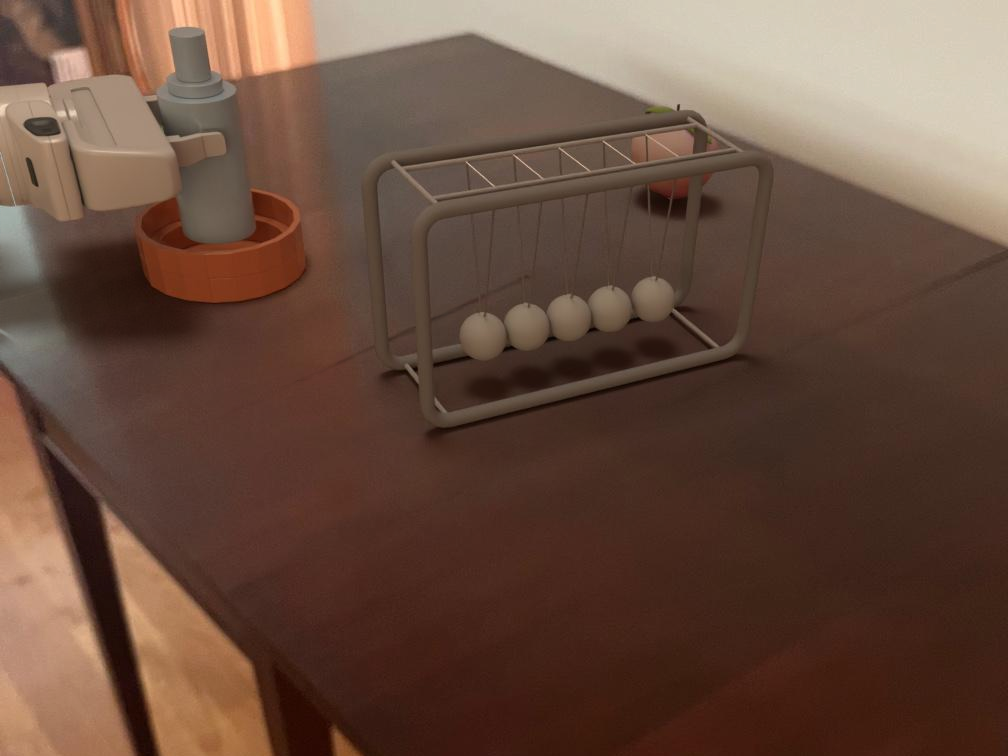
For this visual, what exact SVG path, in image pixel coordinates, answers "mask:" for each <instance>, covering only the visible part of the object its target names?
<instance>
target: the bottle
mask: <svg viewBox="0 0 1008 756" xmlns="http://www.w3.org/2000/svg"><path fill="white" fill-rule="evenodd" d="M168 39H169V44H170V50H171V55H172V61H173V66H174V72H172V73H170V74H168V75H167V76H166V77H165V78H166V82H165V83H163V84H161V85H160V86H158V87H157V88H156V90H155V95H156V96H157V101H158V106H159V111H160V117H161V122H162V127H163V132H164V134H165V136H174V135H179V136H180V137H185V136H189V135H193V134H197V133H199V132H198V130H200V129H211V128H217V129H219V130H220V132H221V133H222V135H223V136H224V138H225V144H226V150H227V151H226V153H225V154H224V155H223V156H215V157H207V158H205V159H203V160H201V161H199V162H196V163H194V164H192V165H190V166H188V167H181V168H179V172H180V178H181V184H182V192H181V193H180V194H178V195H177V196H176V201H177V206H178V211H179V216H180V222H181V227H182V232H183V234H184V235H185V236H186V237H187V238H188V239H190V240H192V241H195V242H199V243H205V244H226V243H232V242H237V241H240V240H243V239H245V238H247V237H249V236H251V235H252V234H253V233H254V232H255V231H256V220H255V213H254V206H253V199H252V192H251V189H252V186H251V180H250V173H249V165H248V160H247V159H248V158H247V153H246V152H247V151H246V145H245V139H244V138H245V137H244V132H243V131H244V130H243V125H242V117H241V111H240V103H239V98H238V91H237V87H236V86H235V84H233V83H231V82H230V81H226V80H224V79H223V76H222V75H221V73H220V72H217V71H214V70H212V69H211V62H210V56H209V50H208V44H207V43H208V42H207V37H206V32H205V30H204V29H203V28H200V27H196V26H181V27H180V26H179V27H175V28H171V29H170V30H168Z"/></svg>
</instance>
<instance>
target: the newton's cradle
mask: <svg viewBox="0 0 1008 756" xmlns="http://www.w3.org/2000/svg"><path fill="white" fill-rule="evenodd" d="M707 126H708V125H707V122H706V120H705V118H704V117H703V116H702V115H701V113H699V112H698V111H695V110H693V109H680V110H679V111H677V110H675V111H673V112H666V113H659V114H657V113H653V114H652V113H651V114H645V115H638V116H630V117H625V118H618V119H611V120H605V121H597V122H590V123H589V122H588V123H583V124H575V125H569V126H562V127H561V126H560V127H554V128H548V129H540V130H534V131H527V132H521V133H512V134H505V135H499V136H492V137H485V138H479V139H471V140H464V141H457V142H449V143H443V144H438V145H429V146H423V147H422V146H421V147H417V148H409V149H402V150H395V151H389V152H386V153H383V154H379V155H378V156H377V157H375V158H374V159H372V160H371V162H369V164H367V165H368V166H366V168H365V170H364V172H363V175H362V178H361V197H362V210H363V222H364V235H365V246H366V247H365V248H366V257H367V268H368V269H367V272H368V282H369V294H370V306H371V316H372V317H371V318H372V328H373V330H372V331H373V342H374V350H375V353H376V357H377V358H378V360H379V362H380V363H381V364H382V365H383V366H385V367H386V368H388V369H391V370H394V371H405V370H406V371H407V372H408V373H409V375H410V376H411V377H412V379H413V380H414V381H415V382H416V384H417V385H418V395H419V397H418V398H419V407H420V411H421V415H422V416H423V418H424V419H425V421H426V422H428V423H429V424H431V425H432V426H434V427H436V428H437V427H438V428H441V429H442V428H443V429H445V428H453V427H458V426H462V425H467V424H470V423H473V422H477V421H478V422H479V421H482V420H485V419H489V418H494V417H497V416H502V415H506V414H511V413H514V412H517V411H523V410H527V409H530V408H534V407H537V406H543V405H546V404H550V403H555V402H558V401H562V400H566V399H571V398H575V397H578V396H583V395H586V394H590V393H594V392H598V391H602V390H607V389H610V388H614V387H619V386H623V385H627V384H630V383H634V382H639V381H643V380H647V379H651V378H655V377H660V376H662V375H668V374H672V373H675V372H680V371H684V370H687V369H692V368H696V367H699V366H704V365H708V364H712V363H717V362H719V361H723V360H728V359H729V358H732V357H733V356H735V355H736V354H737V353H739V352H740V350H741V349H742V348H743V347H744V346H745V345H746V343H747V341H748V339H749V336H750V332H751V327H752V320H753V314H754V309H755V308H754V307H755V299H756V294H757V288H758V281H759V274H760V268H761V261H762V257H763V255H762V254H763V249H764V242H765V236H766V229H767V223H768V217H769V209H770V203H771V197H772V190H773V183H774V166H773V163H772V161H771V159H770V158H769V156H767V154H766V153H764V152H762V151H759V150H743V149H742V148H740V147H738V146H737V145H736V144H733V143H732V142H730V141H729V140H727V139H726V138H724V137H722V136H721V135H719V134H718V133H716V132H714V131H713V130H712V129H711V128H710V129H711V130H710V129H708V128H707ZM687 129H694V144H693V154H691V155H685V156H678V155H676V154H675V153H673V152H672V151H670V150H669V149H667V148H666V147H664V146H663V145H661V144H660V143H658V142H657V141H655V140H654V139H652V138H651V137H649V136H648V135H654V134H660V133H667V132H673V131H680V130H687ZM708 135H709V136H711V137H712V138H714V139H715V140H717V142H719V143H720V144H722V146H724V147H727V148H723V149H719V150H716V151H710V152H706V149H707V140H708ZM640 136H645V139H646V162H642V163H636V164H635V163H634V162H633V161H632V159H630V158H629V157H627V156H626V155H624V154H622V152H620V151H619V150H617V149H616V148H614V147H613V146H612V145H610V144H609V143H608V142H614V141H619V140H627V139H633V138H634V137H640ZM647 137H649V138H650V139H652V140H653V141H655V142H656V143H657V144H659V145H660V146H662V147H663V148H665V149H666V150H668V151H669V152H671V153H672V154H674V155H675V156H677V157H673V158H666V159H660V160H654V161H648V139H647ZM600 143H602V161H603V163H602V164H603V168H599V169H593V170H590V169H589V168H587V167H586V166H585V165H584V164H582V162H581V163H580V162H579V161H578V160H577V159H576V158H574V157H572V156H571V155H570V154H568V152H566V151H565V150H564V149H567V148H573V147H581V146H587V145H592V144H593V145H594V144H600ZM606 145H607V146H608V147H609V148H610V149H612V150H614V151H615V152H616V153H617V154H619V155H621V156H622V157H623V158H625V159H626V160H627V161H628V162H630V164H624V165H618V166H612V167H611V166H610V167H606ZM554 150H558V163H559V175H555V176H550V177H543V176H542V175H540V174H539V173H538V172H537V171H535V170H534V169H533V168H532V167H530V165H527V164H526V163H525V162H524V161H523V160H522V159H520V158H519V157H518V156H521V155H528V154H534V153H540V152H548V151H554ZM562 152H563V153H564V154H565V155H566V156H568V157H569V158H570V159H571V160H573V161H574V162H575V163H577V164H578V165H579V166H581V167H582V168H584V169H585V170H586V171H581V172H575V173H569V174H568V173H567V174H563V167H562ZM713 156H714V157H713ZM508 157H512V162H513V176H514V177H513V178H514V182H512V183H507V184H501V185H495V184H493V183H492V182H491V181H490V180H489V179H487V178H486V177H485V176H484V175H483V174H482V173H481V172H479V171H478V170H477V169H476V168H475V167H474V166H473V165H471V164H470V163H474V162H481V161H488V160H494V159H501V158H508ZM707 157H708V158H707ZM516 159H517V160H518V161H519V162H520V163H521V164H523V165H524V166H525V167H526V168H528V169H529V170H530V171H532V172H533V173H534V174H535V175H537V177H539V178H537V179H531V180H524V181H519V182H518V180H517V179H518V177H517V176H518V175H517V165H516V164H517V163H516ZM676 162H677V163H676ZM670 163H671V164H670ZM461 164H465V171H466V179H467V190H463V191H457V192H450V193H445V194H439V195H431V194H430V193H429V192H428V191H427V189H425V188H424V187H423V186H422V185H421V184H420V183H419V182H418V181H417V180H416V179H415V178H414V177H413V176H411V174H409V172H416V171H422V170H429V169H435V168H441V167H450V166H455V165H461ZM664 164H665V165H664ZM658 165H659V166H658ZM652 166H653V167H652ZM469 167H470V168H471V169H472V170H473V171H475V172H476V173H477V174H478V175H479V176H480V177H481V178H483V179H484V180H485V182H487V183H489V185H490V186H488V187H483V188H475V189H471V181H470V170H469ZM646 167H647V168H646ZM749 167H755V168H756V169H757V171H758V180H757V181H758V182H757V189H756V196H755V201H754V209H753V216H752V221H751V222H752V223H751V230H750V236H749V243H748V250H747V257H746V262H745V263H746V264H745V270H744V277H743V285H742V292H741V298H740V305H739V311H738V312H739V313H738V319H737V325H736V331H735V334H734V335H733V337H732V339H731V340H730V341H729V342H727V343H726V344H724V345H722V346H720V345H718V343H716V342H715V341H714V340H713V339H711V338H710V337H709V336H708V335H707V334H705V333H704V332H703V331H702V330H701V329H700V328H698V327H697V326H696V325H695V324H693V323H692V322H691V321H690V320H689V319H687V318H686V317H685V316H684V315H682V313H680V312H679V311H678V310H676V308H677V307H679V306H680V305H681V304H682V303H684V301H685V300H686V298H687V297H688V295H689V294H690V290H691V286H692V281H693V271H694V263H695V255H696V254H695V253H696V245H697V236H698V227H699V219H700V210H701V201H702V193H703V192H702V191H703V187H702V184H703V176H704V174H708V173H713V174H714V173H720V172H724V171H731V170H732V171H733V170H736V169H743V168H749ZM640 168H641V169H640ZM393 169H395V170H396V171H397V172H398V173H399V174H400V175H401V176H402V177H403V178H404V179H405V180H406V181H407V182H408V183H409V184H410V185H412V187H413V188H414V189H416V190H417V191H418V192H419V193H420V194H421V196H423V197H424V198H425V199H426V200H427V201H428V202H429V203H430V205H428V206H427V207H425V208H424V209H422V210H421V211H420V213H419V214H418V215H417V216H416V218H415V219H414V221H413V224H412V226H411V229H410V239H409V241H410V254H411V256H410V257H411V273H412V275H411V276H412V290H413V291H412V294H413V308H414V309H413V310H414V326H415V327H414V328H415V343H416V344H415V345H416V352H415V353H411V354H406V355H395V354H394V353H392V352H391V350H390V349H391V348H390V342H389V329H388V315H387V314H388V313H387V301H386V289H385V288H386V287H385V275H384V263H383V249H382V248H383V247H382V235H381V234H382V233H381V222H380V210H379V209H380V207H379V194H378V193H379V192H378V183H379V180H380V178H381V176H383V174H384V173H385V172H387V171H390V170H393ZM685 177H690V182H689V191H688V196H687V200H686V201H687V202H686V212H685V223H684V232H683V239H682V248H681V258H680V260H681V261H680V268H679V278H678V284H677V287H676V289H675V291H674V289H673V287H672V285H671V284H670V283H669V282H668V281H667V280H666V279H664V278H662V277H659V274H660V269H661V264H662V257H663V252H664V247H665V242H666V237H667V232H668V227H669V220H670V216H671V210H672V205H673V201H674V200H673V195H674V189H675V184H676V179H679V178H685ZM673 179H674V184H673V189H672V195H671V200H669V205H668V211H667V216H666V222H665V227H664V233H663V237H662V242H661V247H660V248H661V249H660V254H659V258H658V265H657V269H656V275H654V268H653V267H654V266H653V241H652V217H651V216H652V215H651V192H650V191H651V189H649V184H650V183H656V182H661V181H667V180H673ZM644 184H647V186H646V188H647V207H648V208H647V211H648V229H649V230H648V234H649V258H650V259H649V261H650V276H649V277H645V278H643V279H641V280H639V281H638V282H637V283H636V284H635V286H634V287H633V289H632V292H631V295H630V297H629V295H628V294H627V293H626V291H624V290H622V289H621V288H619V287H618V286H616V280H617V275H618V269H619V264H620V259H621V253H622V247H623V243H624V237H625V231H626V227H627V226H626V225H627V220H628V215H629V211H630V210H629V209H630V205H631V199H632V193H633V189H634V187H638V186H642V185H644ZM644 186H645V185H644ZM626 188H629V194H628V198H627V199H628V200H627V205H626V209H625V216H624V221H623V226H622V231H621V238H620V243H619V249H618V255H617V258H616V259H617V260H616V265H615V271H614V275H613V281H612V284H611V285H610V283H611V281H610V257H609V254H610V253H609V228H608V225H609V224H608V199H607V197H608V196H607V195H608V194H607V192H608V191H613V190H614V191H615V190H620V189H626ZM603 192H604V193H603ZM596 193H603V194H604V219H605V220H604V222H605V246H606V247H605V248H606V273H607V275H606V276H607V278H606V279H607V285H606V286H601V287H599V288H598V289H596V290H594V292H593V293H591V295H590V297H589V299H588V301H587V302H586V301H585V300H584V299H582V298H581V297H580V296H579V295H578V296H577V295H576V294H575V295H574V292H575V291H574V290H575V285H576V279H577V278H576V277H577V271H578V265H579V258H580V251H581V246H582V238H583V232H584V226H585V221H586V220H585V218H586V213H587V205H588V199H589V195H591V194H596ZM583 195H584V196H585V200H584V207H583V212H582V218H581V219H582V220H581V227H580V232H579V233H580V234H579V240H578V247H577V252H576V259H575V267H574V273H573V280H572V285H571V293H569V281H568V277H569V276H568V264H567V263H568V261H567V260H568V259H567V241H566V240H567V239H566V224H565V223H566V222H565V206H564V205H565V204H564V199H567V198H572V197H579V196H583ZM555 200H561V202H560V203H561V217H562V218H561V219H562V238H563V239H562V240H563V256H564V273H565V274H564V275H565V277H564V278H565V290H566V291H565V293H566V294H562V295H559V296H558V297H556V298H554V299H553V300H552V301H551V302H550V303H549V305H548V307H547V310H546V312H545V311H544V310H543V309H542V308H541V307H539V306H538V305H536V304H534V303H531V301H532V293H533V286H534V285H533V284H534V274H535V267H536V259H537V251H538V243H539V234H540V224H541V216H542V207H543V203H545V202H551V201H555ZM538 203H539V207H538V216H537V226H536V233H535V242H534V251H533V258H532V259H533V260H532V268H531V275H530V277H531V279H530V286H529V293H528V302H527V299H526V288H525V286H526V285H525V274H524V260H523V246H522V233H521V231H522V230H521V219H520V218H521V217H520V207H522V206H526V205H532V204H538ZM514 207H515V208H516V215H517V216H516V217H517V231H518V244H519V257H520V270H521V284H522V285H521V286H522V297H523V303H519V304H517V305H515V306H513V307H512V308H511V309H509V311H508V312H507V313H506V315H505V317H504V319H503V322H502V320H501V319H500V318H498V317H497V316H496V315H495V314H492V313H489V312H487V307H488V306H487V305H488V295H489V293H488V292H489V282H490V269H491V258H492V247H493V234H494V222H495V211H497V210H503V209H510V208H514ZM485 212H491V223H490V224H491V225H490V236H489V247H488V248H489V249H488V259H487V273H486V283H485V285H486V286H485V297H484V308H483V310H482V297H481V290H480V289H481V288H480V277H479V276H480V275H479V267H478V257H477V256H478V255H477V246H476V235H475V234H476V233H475V223H474V214H480V213H485ZM469 215H470V222H471V231H472V232H471V233H472V243H473V244H472V245H473V254H474V264H475V266H474V267H475V274H476V285H477V286H476V287H477V296H478V307H479V312H475V313H473V314H471V315H469V316H468V317H467V318H466V319H465V320H464V321H463V323H462V325H461V326H460V329H459V336H458V337H459V343H456V344H452V345H447V346H442V347H437V348H433V335H432V334H433V333H432V314H431V312H432V311H431V296H430V295H431V293H430V274H429V273H430V271H429V270H430V269H429V253H428V249H429V248H428V235H429V232H430V230H431V228H432V227H433V226H434V225H435V224H436V223H437V222H439V221H441V220H444V219H451V218H455V217H462V216H469ZM674 308H675V309H674ZM671 313H672V314H673V315H674V316H675V317H676V318H678V319H679V320H680V321H681V322H682V323H684V324H685V325H686V326H687V327H688V328H690V329H691V330H692V331H693V332H694V333H695V334H697V335H698V336H699V337H700V338H701V339H703V340H704V341H705V342H706V343H707V344H709V345H710V346H711V347H712V348H709V349H704V350H701V351H696V352H692V353H688V354H684V355H681V356H677V357H672V358H668V359H664V360H659V361H655V362H651V363H648V364H642V365H638V366H635V367H631V368H626V369H623V370H618V371H614V372H610V373H606V374H602V375H597V376H594V377H589V378H586V379H582V380H577V381H572V382H567V383H565V384H561V385H557V386H552V387H549V388H548V387H547V388H543V389H539V390H536V391H532V392H528V393H523V394H519V395H515V396H510V397H506V398H503V399H499V400H494V401H491V402H486V403H482V404H478V405H474V406H470V407H466V408H465V407H464V408H461V409H458V410H457V409H456V410H453V411H449V412H448V411H447V409H445V408H444V406H443V405H442V404H441V403H440V401H439V400H438V399H437V398H436V395H435V379H434V376H435V375H434V364H437V363H441V362H447V361H452V360H455V359H460V358H463V357H470V358H472V359H474V360H476V361H480V362H481V361H482V362H484V361H491V360H493V359H495V358H497V357H499V356H500V354H501V353H502V352H503V351H504V349H505V348H509V347H513V348H515V349H516V350H519V351H523V352H531V351H536V350H537V349H539V348H541V347H542V346H543V345H544V344H545V342H546V341H547V340H548V339H550V338H553V337H555V338H556V339H557V340H560V341H561V342H562V341H563V342H575V341H578V340H580V339H581V338H583V337H584V336H585V335H586V334H587V332H588V331H589V330H590V329H593V328H594V329H597V330H599V331H601V332H604V333H615V332H617V331H620V330H622V329H623V328H624V327H626V326H627V324H628V323H629V321H630V320H634V319H633V318H635V319H638V317H639V319H640V320H641V321H644V322H647V323H659V322H662V321H664V320H665V319H666V318H668V317H669V316H670V315H671ZM416 368H417V373H416V372H415V370H414V369H416Z"/></svg>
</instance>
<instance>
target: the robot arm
mask: <svg viewBox="0 0 1008 756" xmlns="http://www.w3.org/2000/svg"><path fill="white" fill-rule="evenodd" d="M160 125H162V122H161V117H160V111H159V106H158V101H157V96H156V94H151V95H143V94H142V92H141V90H140V89H139V87H138V84H137V83H136V81H135V79H134V78H133V77H132V76H130V75H124V74H105V75H98V76H97V75H96V76H91V77H83V78H77V79H69V80H64V81H60V82H55V83H53V84H50V85H49V86H48V85H47V84H46V83H45V82H36V83H25V84H23V83H22V84H12V85H1V86H0V206H2V207H19V206H28V205H31V206H32V207H33V208H37V209H39V210H42V211H44V212H45V213H47V214H48V215H49V216H51V217H52V218H53V219H54V220H57V221H59V222H65V223H67V222H75V221H80V220H83V219H84V218H86V211H85V208H86V209H87V210H89V211H93V212H112V211H119V210H125V209H131V208H138V207H143V206H148V205H150V204H154V203H159V202H163V201H166V200H169V199H171V198H173V197H175V196H177V195H178V194H180V193H181V192H182V184H181V178H180V172H179V168H181V167H188V166H190V165H192V164H194V163H196V162H199V161H201V160H203V159H205V158H207V157H215V156H223V155H224V154H225V153H226V151H227V150H226V144H225V138H224V136H223V135H222V133H221V132H220V130H219V129H217V128H211V129H200V130H198V132H199V133H197V134H193V135H189V136H185V137H180V136H179V135H174V136H165V134H164V132H163V130H162V129H161V127H160Z"/></svg>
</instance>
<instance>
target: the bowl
mask: <svg viewBox="0 0 1008 756" xmlns="http://www.w3.org/2000/svg"><path fill="white" fill-rule="evenodd" d="M251 192H252V199H253V206H254V213H255V220H256V231H255V232H254V233H253V234H252V235H251V236H249V237H247V238H245V239H243V240H240V241H237V242H232V243H226V244H205V243H199V242H195V241H192V240H190V239H188V238H187V237H186V236H185V235H184V234H183V232H182V227H181V222H180V216H179V211H178V206H177V201H176V196H175V197H173V198H171V199H169V200H166V201H163V202H159V203H154V204H148V205H145V207H143V209H142V210H141V211H140V212H139V213H138V214H137V215H136V216H135V218H134V225H133V230H134V235H135V238H136V239H135V240H136V244H137V248H138V253H139V257H140V261H141V266H142V270H143V274H144V277H145V278H146V280H147V281H148V283H149V284H150V286H151V287H152V288H153V289H155V290H157V291H159V292H160V293H162V294H164V295H166V296H169V297H173V298H175V299H181V300H183V301H186V302H187V301H188V302H201V303H211V304H216V303H217V304H218V303H219V304H221V303H234V302H242V301H243V302H244V301H249V300H253V299H257V298H262V297H265V296H268V295H270V294H274V293H275V292H279V291H281V290H283V289H285V288H287V287H289V286H290V285H291V284H293V283H294V282H295V281H297V280H298V279H300V278H301V276H302V274H303V272H304V271H305V270H306V268H307V260H306V253H305V244H304V237H303V229H302V220H301V212H300V211H301V210H300V208H298V207H297V206H296V205H295V204H294V203H293V202H292V201H291V200H290V199H288V198H285V197H283V196H281V195H279V194H277V193H274V192H270V191H266V190H261V189H258V188H251Z"/></svg>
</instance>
